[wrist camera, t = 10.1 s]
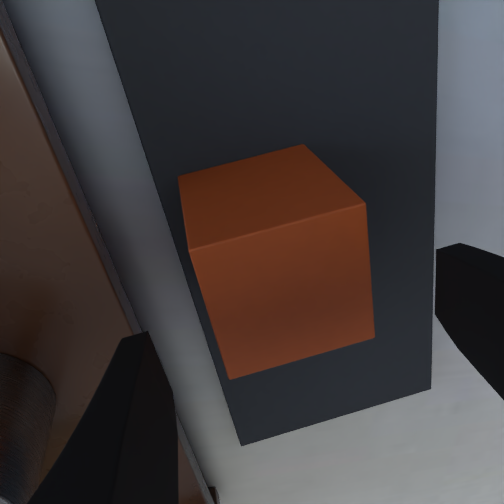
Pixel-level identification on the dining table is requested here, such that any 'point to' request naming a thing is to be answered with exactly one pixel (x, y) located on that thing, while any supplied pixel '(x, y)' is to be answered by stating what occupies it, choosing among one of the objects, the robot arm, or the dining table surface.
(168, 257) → the dining table surface
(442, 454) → the dining table surface
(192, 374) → the dining table surface
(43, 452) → the steel tin
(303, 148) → the rust block
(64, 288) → the shelf
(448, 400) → the dining table surface
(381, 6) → the mat
